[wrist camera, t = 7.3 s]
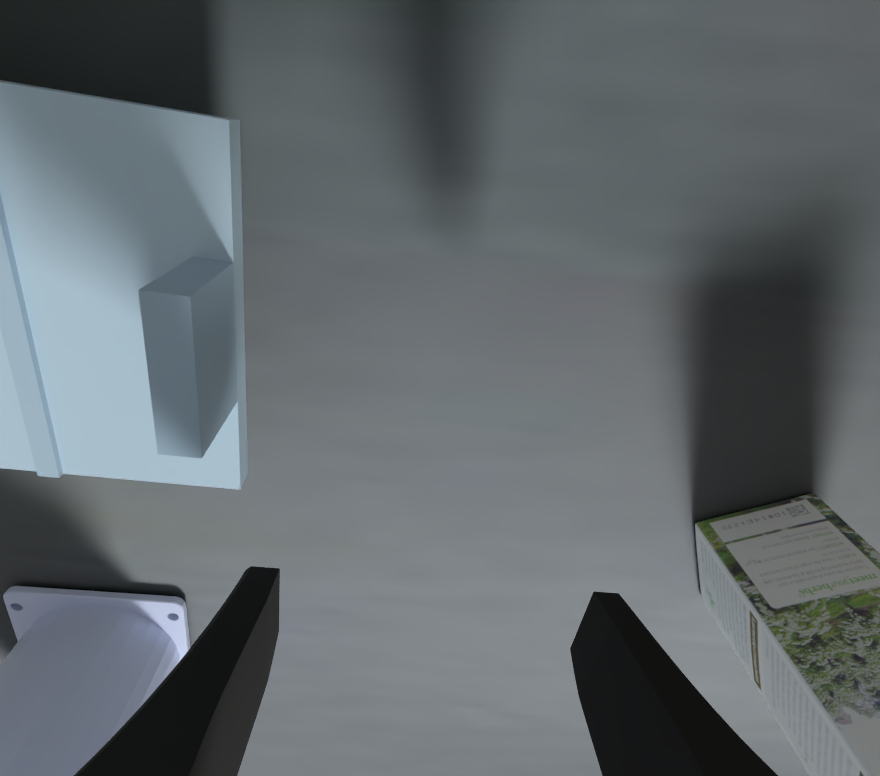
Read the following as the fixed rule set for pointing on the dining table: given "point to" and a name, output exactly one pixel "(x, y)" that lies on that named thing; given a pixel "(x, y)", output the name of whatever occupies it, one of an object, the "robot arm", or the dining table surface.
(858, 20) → the dining table surface
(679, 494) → the dining table surface
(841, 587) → the syrup box
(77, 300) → the lid
